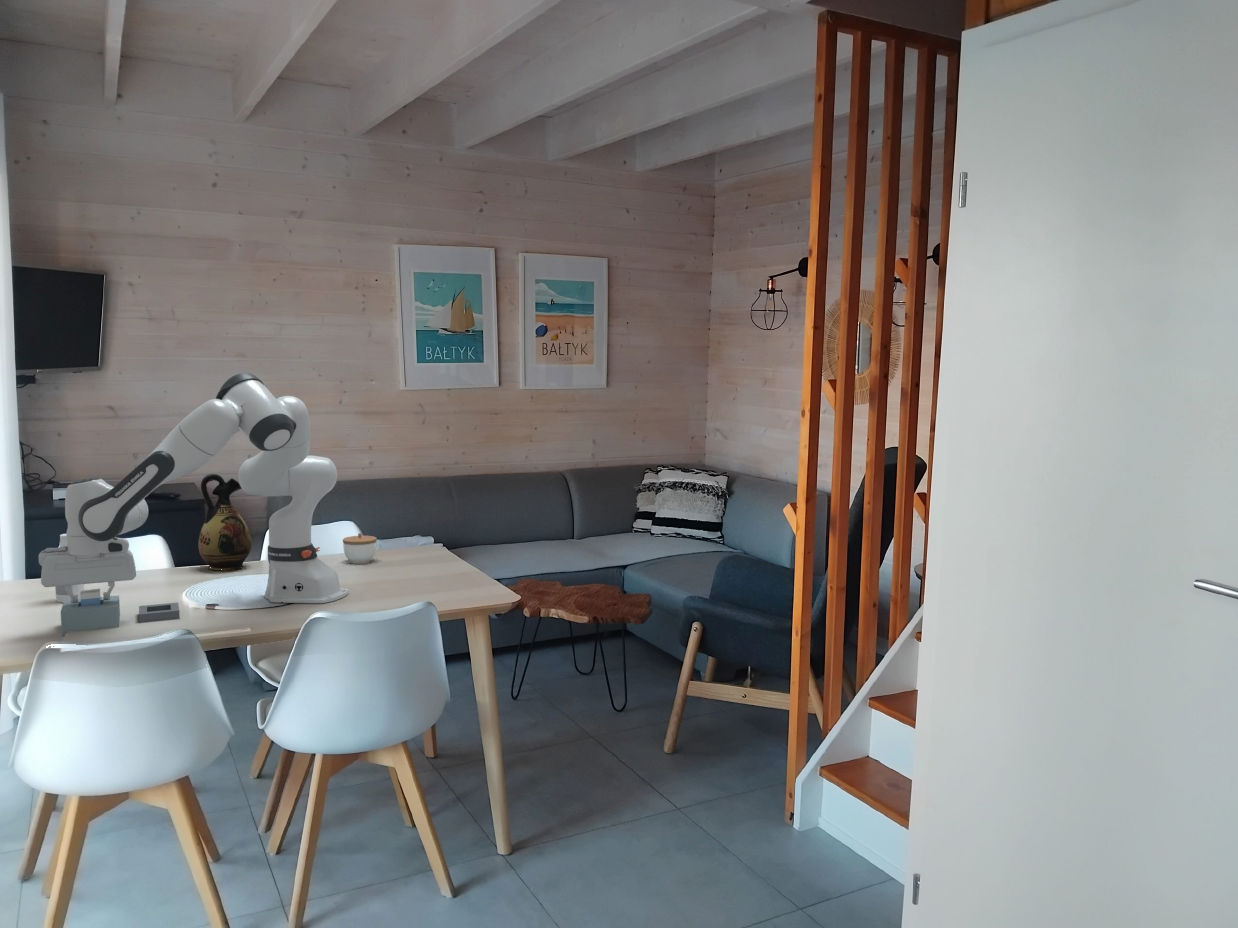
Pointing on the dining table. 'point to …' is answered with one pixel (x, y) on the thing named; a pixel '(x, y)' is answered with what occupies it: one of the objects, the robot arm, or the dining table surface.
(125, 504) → the robot arm
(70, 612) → the port block
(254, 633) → the dining table surface
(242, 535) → the ceramic jug
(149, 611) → the holster
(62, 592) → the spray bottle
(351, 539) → the lidded jar
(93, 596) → the plug
